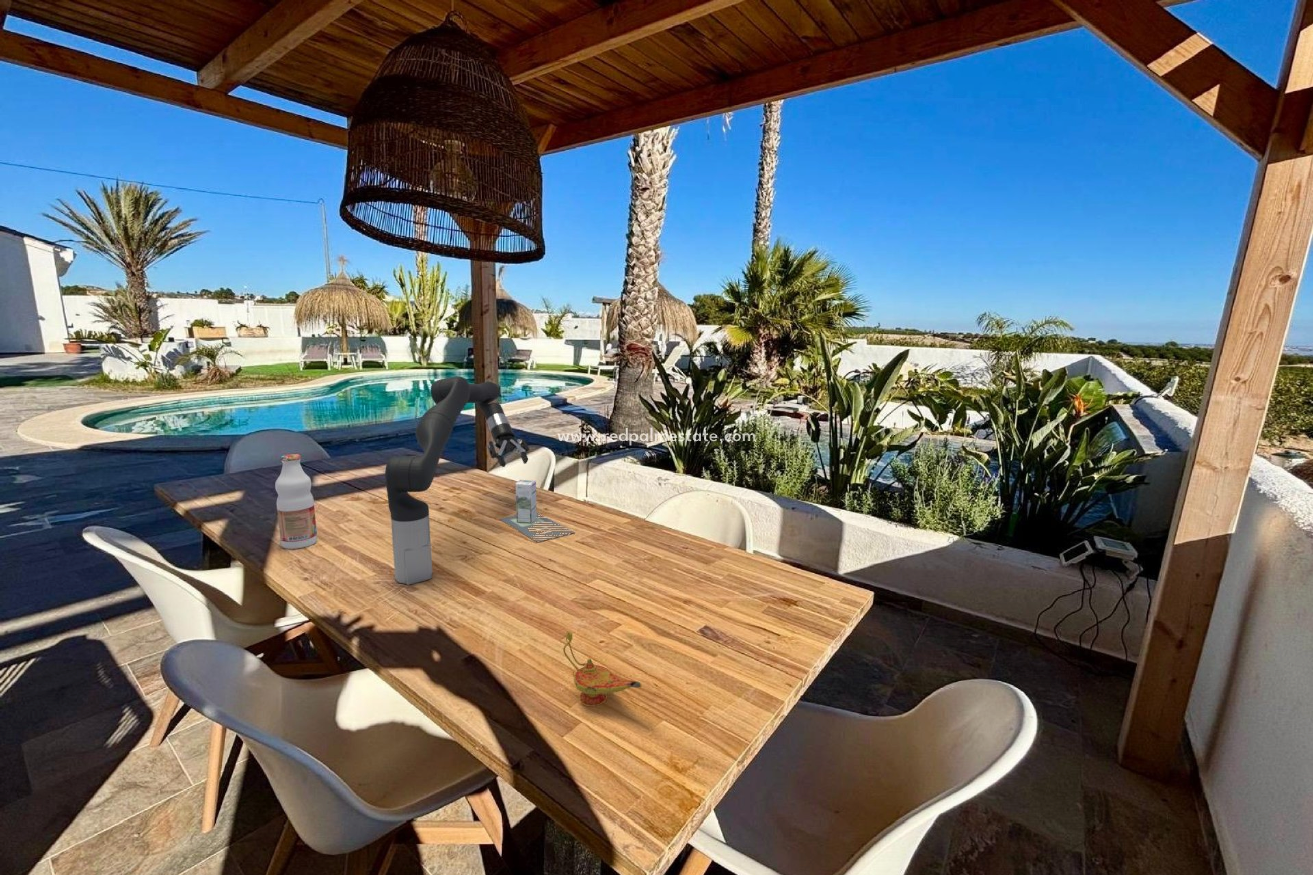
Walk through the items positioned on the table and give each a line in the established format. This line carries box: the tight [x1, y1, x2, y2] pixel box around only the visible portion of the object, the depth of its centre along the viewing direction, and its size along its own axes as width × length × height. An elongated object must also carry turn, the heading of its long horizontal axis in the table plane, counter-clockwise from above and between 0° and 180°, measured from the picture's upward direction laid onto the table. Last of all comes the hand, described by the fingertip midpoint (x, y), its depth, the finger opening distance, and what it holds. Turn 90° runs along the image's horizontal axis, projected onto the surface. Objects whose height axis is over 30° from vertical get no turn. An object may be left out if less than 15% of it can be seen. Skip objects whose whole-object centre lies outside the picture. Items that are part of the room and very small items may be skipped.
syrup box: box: [515, 479, 538, 523], centre depth 187 cm, size 6×6×14 cm
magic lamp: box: [562, 631, 642, 707], centre depth 95 cm, size 7×18×11 cm, turn 56°
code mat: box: [498, 511, 576, 542], centre depth 184 cm, size 28×14×1 cm, turn 41°
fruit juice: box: [274, 453, 318, 550], centre depth 161 cm, size 9×9×28 cm
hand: (515, 464), depth 191 cm, fingers open, 8 cm apart
